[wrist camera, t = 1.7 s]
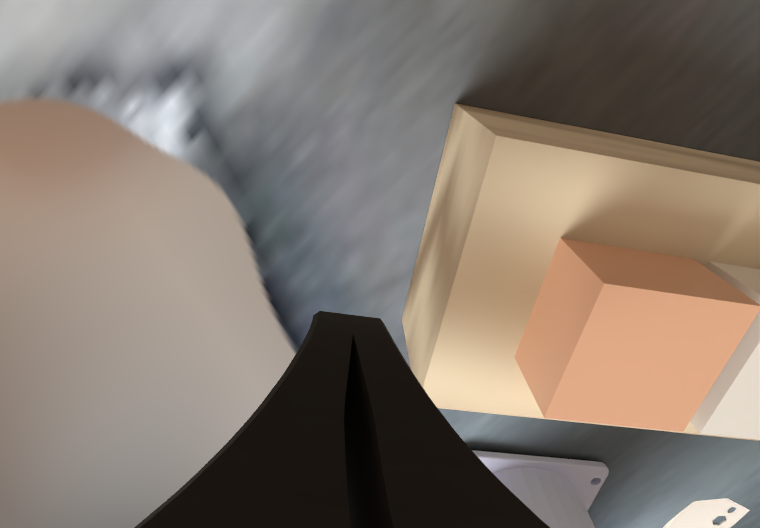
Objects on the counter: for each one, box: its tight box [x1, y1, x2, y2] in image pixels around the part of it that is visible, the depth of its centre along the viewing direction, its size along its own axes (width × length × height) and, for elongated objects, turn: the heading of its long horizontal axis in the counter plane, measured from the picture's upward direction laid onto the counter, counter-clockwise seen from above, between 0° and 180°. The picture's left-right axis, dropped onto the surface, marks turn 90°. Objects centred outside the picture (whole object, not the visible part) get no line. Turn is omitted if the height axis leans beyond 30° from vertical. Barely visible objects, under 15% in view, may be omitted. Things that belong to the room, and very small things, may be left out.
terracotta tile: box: [514, 238, 760, 432], centre depth 13 cm, size 4×4×2 cm
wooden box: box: [402, 103, 760, 441], centre depth 17 cm, size 9×14×5 cm, turn 79°
